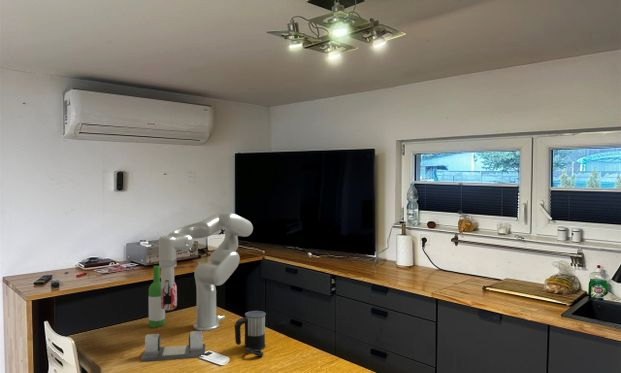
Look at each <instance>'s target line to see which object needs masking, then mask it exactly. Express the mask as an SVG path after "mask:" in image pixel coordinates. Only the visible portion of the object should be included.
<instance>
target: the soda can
mask: <svg viewBox="0 0 621 373" xmlns="http://www.w3.org/2000/svg"><path fill="white" fill-rule="evenodd" d="M168 288H170V287H168ZM168 291H169V290H168ZM177 291H178V288H177V284H176V282H175V281H174V283H173V288H172V289H171V298H172V303H171V304H166V305H165V304H164V289H163V290H161V308H162V309H164V310H165V311H172V310H174V309H176V308H177V306H178V293H177Z"/></svg>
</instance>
